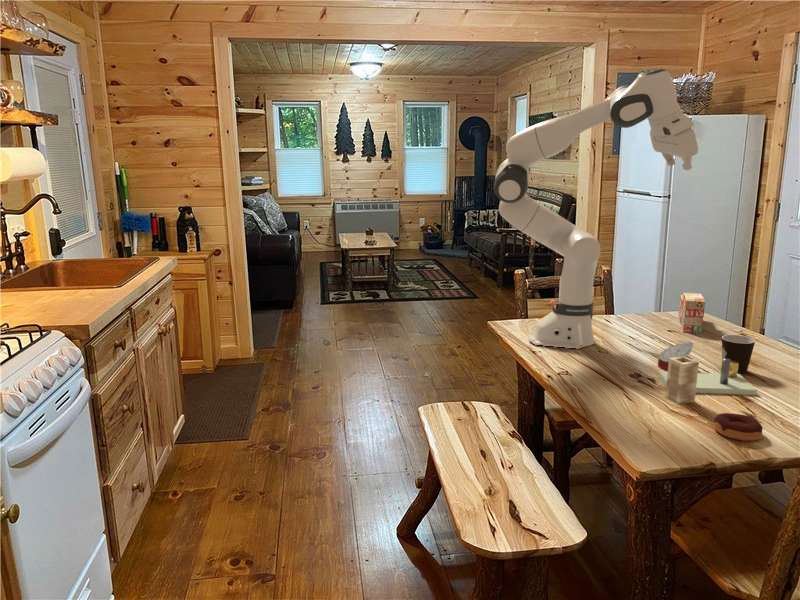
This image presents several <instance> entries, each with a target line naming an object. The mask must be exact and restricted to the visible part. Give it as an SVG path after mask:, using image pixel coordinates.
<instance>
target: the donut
mask: <svg viewBox="0 0 800 600" xmlns="http://www.w3.org/2000/svg"><path fill="white" fill-rule="evenodd" d="M712 427H713V429H714V430H715V431H716V432H718V434H720V435H722V436H724V437H726V438H729V439H733V440H737V441H741V442H742V441H745V442H756V441H758V440H761V439H762V438H763V436H764V435H763V429H764V427H763V426H762V424H761V423H760V421H758V420H756V419H755V418H754V417H752V416H750V415H746V414H739V413H729V412H722V413H717V415H716V416H715V417H714V419H713V425H712Z"/></svg>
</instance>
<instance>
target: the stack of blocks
mask: <svg viewBox="0 0 800 600" xmlns="http://www.w3.org/2000/svg"><path fill="white" fill-rule="evenodd" d="M705 306H706V300H705V297H704V296H703V295H702V294H701V293H695V292H694V293H693V292H683V293H682V294H680V295H679V307H678V309H679V310H678V321H679V323H680V326H681V330H682V333H689V334H690V333H691V334H702V333H703V323H704V317H705V308H706V307H705Z"/></svg>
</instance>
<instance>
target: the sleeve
mask: <svg viewBox="0 0 800 600" xmlns="http://www.w3.org/2000/svg"><path fill="white" fill-rule="evenodd" d="M688 357H689V356H688ZM688 357H685V356H682V357H675V358H669V364H668V371H667V372H668V374H667V385H666V386H665V387H666V388H665V395H664V396H665V398H667V399H668V400H670V401H672V402H674V403H676V404H678V405H681V404H689V403H695V400H696V394H697V393H696V384H697V375H698V373H699V366H700V365H699V364H700V362H699V361H697V360H694V359H693V358H692V359H690V358H691V357H690V358H688Z"/></svg>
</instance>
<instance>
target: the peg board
mask: <svg viewBox="0 0 800 600" xmlns="http://www.w3.org/2000/svg"><path fill="white" fill-rule="evenodd" d="M667 374H668V371H665V370H661V371H659V370H658V374H657V375H658V376H657V377H658V378H659V379H660V380H661V381H662V383H663V385H664V386H665V387H666V385H667ZM720 375H721V372H698V375H697V384H696V394H718V395H719V394H720V395H721V394H723V395H741V396H742V395H743V396H744V395H747V396H748V395H749V396H757V395H758V389H757V387H755V386H754V385H753V384H751V383H750V382H749V381H748V380H747V379H745V378H744V377H743V375H740V374H737V378H728V384H727V385H724V384H720Z"/></svg>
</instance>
